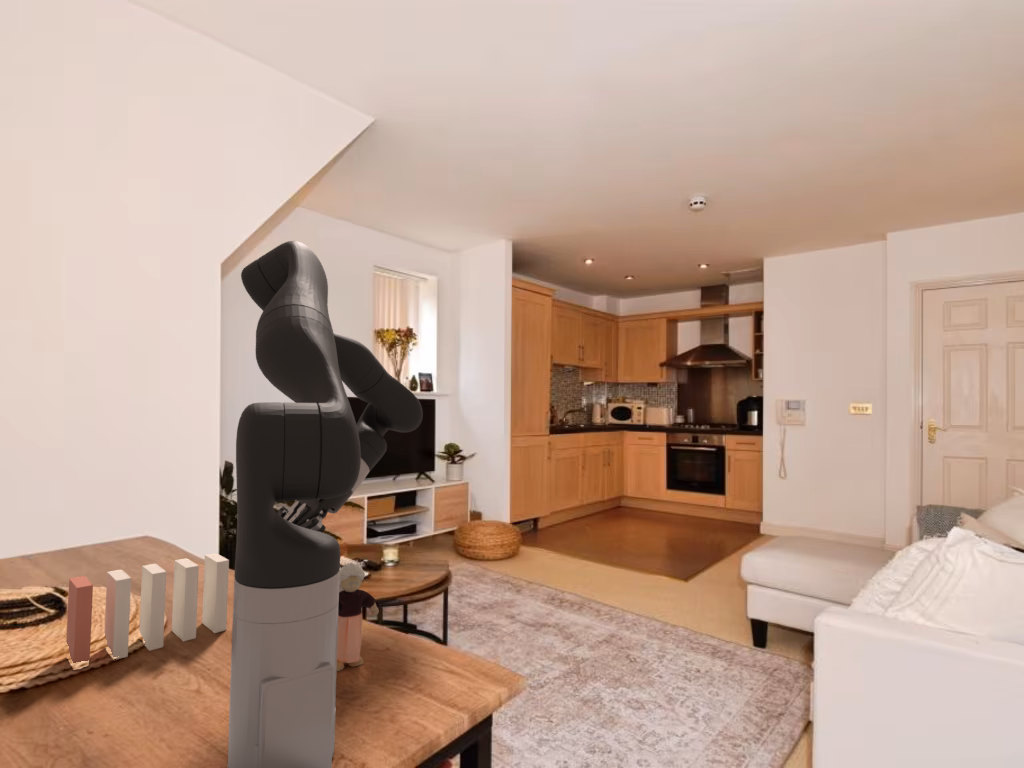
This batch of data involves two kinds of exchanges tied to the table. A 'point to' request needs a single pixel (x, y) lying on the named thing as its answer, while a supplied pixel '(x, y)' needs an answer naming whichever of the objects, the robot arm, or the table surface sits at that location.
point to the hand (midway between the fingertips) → (261, 564)
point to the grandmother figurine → (351, 615)
